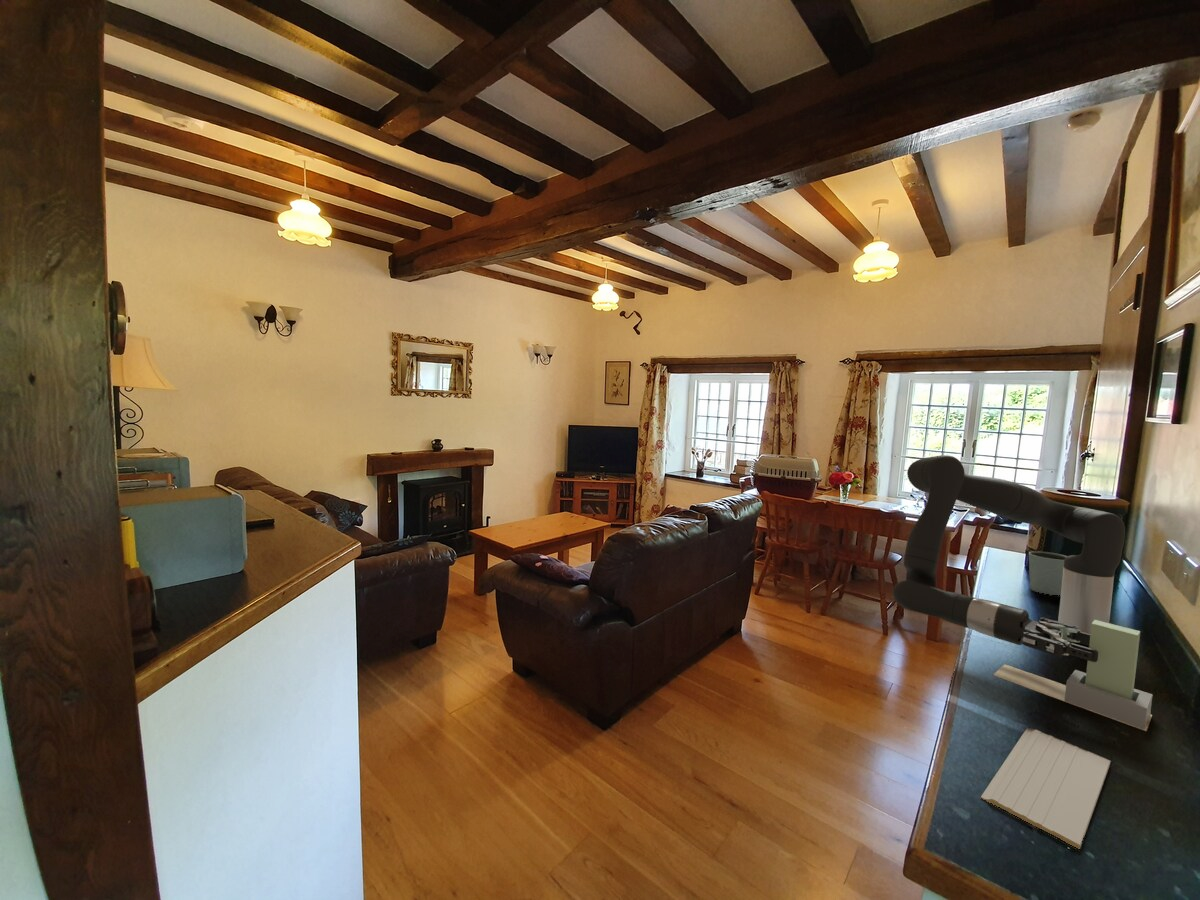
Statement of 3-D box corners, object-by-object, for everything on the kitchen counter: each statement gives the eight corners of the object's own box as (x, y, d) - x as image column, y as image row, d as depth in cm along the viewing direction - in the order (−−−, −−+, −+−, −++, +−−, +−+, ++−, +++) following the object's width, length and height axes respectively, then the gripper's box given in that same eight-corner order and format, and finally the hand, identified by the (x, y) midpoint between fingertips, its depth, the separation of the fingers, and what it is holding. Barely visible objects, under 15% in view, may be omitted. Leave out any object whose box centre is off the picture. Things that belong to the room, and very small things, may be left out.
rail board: (1004, 668, 109) (1004, 664, 108) (1151, 720, 91) (1152, 715, 91) (992, 679, 104) (992, 675, 104) (1145, 736, 86) (1146, 730, 86)
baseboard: (967, 795, 73) (1078, 855, 63) (969, 777, 72) (1081, 835, 63) (1022, 718, 91) (1114, 756, 82) (1023, 704, 91) (1116, 739, 82)
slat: (1086, 697, 96) (1094, 619, 95) (1130, 713, 91) (1140, 631, 90) (1083, 702, 94) (1091, 623, 93) (1128, 718, 90) (1137, 635, 88)
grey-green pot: (1071, 599, 151) (1075, 562, 150) (1028, 592, 157) (1032, 556, 156) (1063, 589, 160) (1066, 554, 159) (1022, 583, 165) (1026, 549, 164)
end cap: (1073, 688, 99) (1075, 669, 99) (1150, 714, 91) (1152, 694, 91) (1064, 700, 95) (1066, 681, 95) (1144, 729, 86) (1146, 708, 86)
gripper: (987, 611, 102) (1097, 641, 89) (1008, 596, 110) (1111, 622, 97) (984, 645, 102) (1092, 680, 89) (1005, 628, 111) (1106, 658, 98)
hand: (1102, 650), depth 93 cm, fingers open, 8 cm apart
